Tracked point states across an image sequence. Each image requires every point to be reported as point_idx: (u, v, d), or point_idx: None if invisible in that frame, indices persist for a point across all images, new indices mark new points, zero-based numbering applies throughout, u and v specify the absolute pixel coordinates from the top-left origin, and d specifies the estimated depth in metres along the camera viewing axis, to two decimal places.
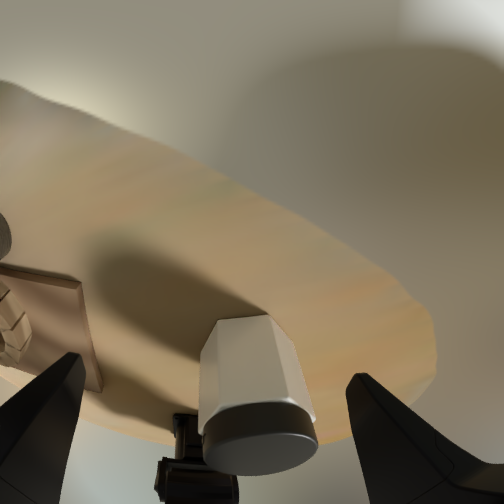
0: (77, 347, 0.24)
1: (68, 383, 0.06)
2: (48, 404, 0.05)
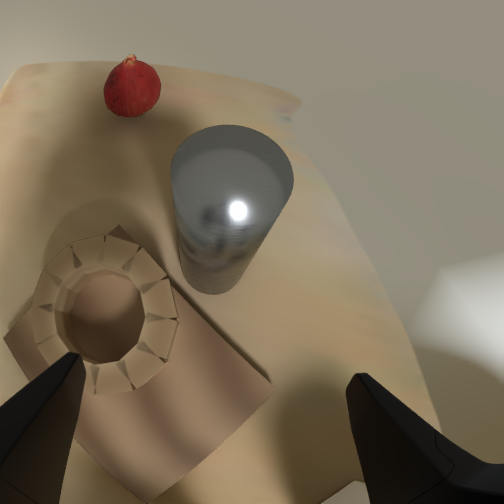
0: (196, 443, 0.17)
1: (68, 383, 0.06)
2: (48, 404, 0.05)
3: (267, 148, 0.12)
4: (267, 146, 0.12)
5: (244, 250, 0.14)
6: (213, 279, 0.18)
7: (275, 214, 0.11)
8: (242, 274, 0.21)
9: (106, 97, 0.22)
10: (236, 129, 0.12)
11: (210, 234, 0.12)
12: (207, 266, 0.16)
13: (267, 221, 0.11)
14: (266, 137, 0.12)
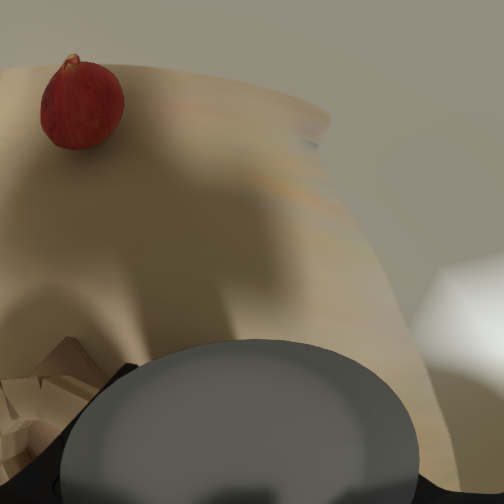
0: None
1: None
2: None
3: (366, 422, 0.03)
4: (368, 414, 0.03)
5: None
6: None
7: None
8: None
9: (42, 123, 0.13)
10: (261, 363, 0.03)
11: None
12: None
13: None
14: (367, 376, 0.03)
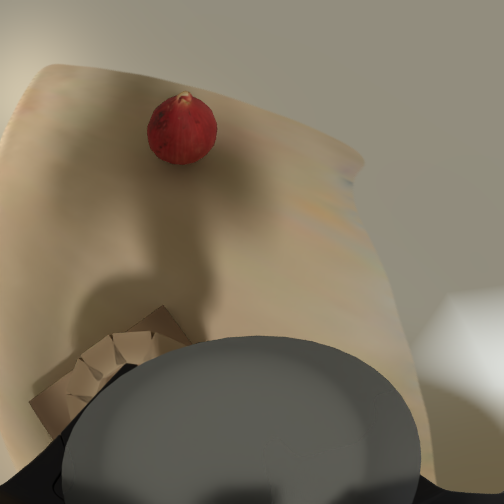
0: None
1: None
2: None
3: (368, 419, 0.03)
4: (370, 411, 0.03)
5: None
6: None
7: None
8: None
9: (151, 139, 0.21)
10: (265, 360, 0.03)
11: None
12: None
13: None
14: (369, 373, 0.03)
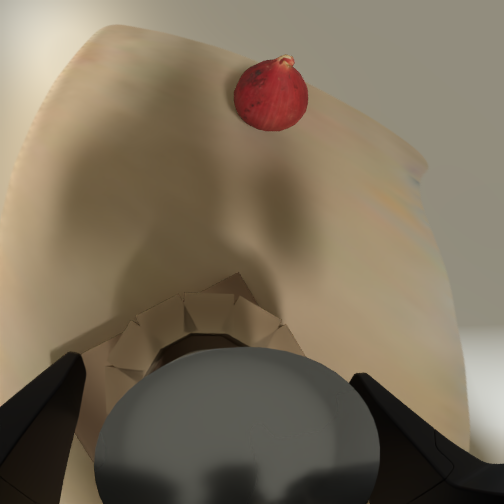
0: None
1: (68, 383, 0.06)
2: (48, 404, 0.05)
3: (331, 412, 0.04)
4: (332, 405, 0.04)
5: None
6: None
7: None
8: None
9: (241, 96, 0.19)
10: (250, 365, 0.04)
11: None
12: None
13: None
14: (331, 376, 0.04)
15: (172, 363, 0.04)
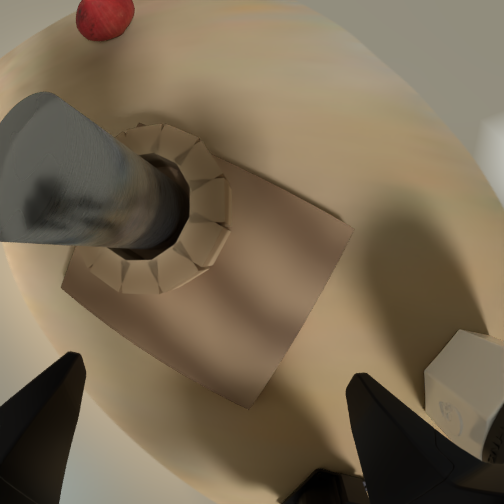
0: (285, 316, 0.19)
1: (68, 383, 0.06)
2: (48, 404, 0.05)
3: (35, 106, 0.06)
4: (35, 104, 0.06)
5: (103, 215, 0.09)
6: (140, 242, 0.14)
7: (61, 174, 0.06)
8: (180, 209, 0.17)
9: (82, 31, 0.17)
10: (8, 117, 0.07)
11: (42, 240, 0.08)
12: (108, 244, 0.12)
13: (61, 188, 0.07)
14: (33, 95, 0.06)
15: None
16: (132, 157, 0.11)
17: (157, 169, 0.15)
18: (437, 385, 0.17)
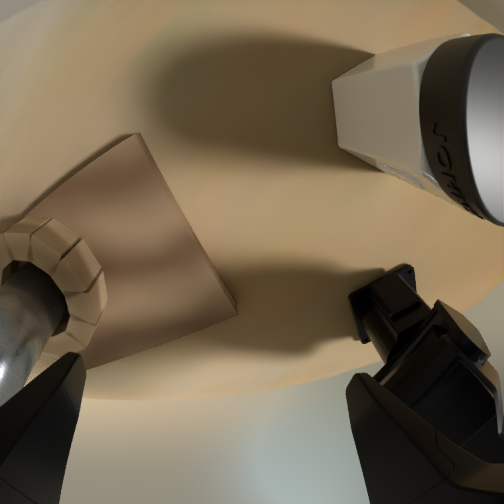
0: (171, 240, 0.19)
1: (68, 383, 0.06)
2: (48, 404, 0.05)
3: None
4: None
5: (7, 364, 0.10)
6: (49, 324, 0.15)
7: None
8: (45, 274, 0.16)
9: None
10: None
11: None
12: (35, 355, 0.13)
13: None
14: None
15: None
16: None
17: (9, 281, 0.14)
18: (357, 153, 0.16)
